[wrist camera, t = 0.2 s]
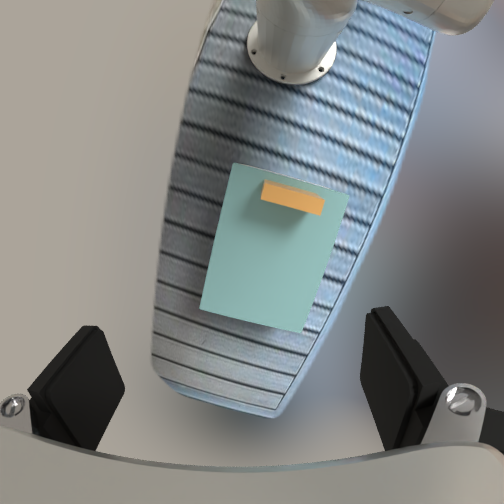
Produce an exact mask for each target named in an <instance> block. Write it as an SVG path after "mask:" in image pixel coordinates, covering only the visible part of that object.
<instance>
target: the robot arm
mask: <svg viewBox="0 0 504 504" xmlns="http://www.w3.org/2000/svg"><path fill="white" fill-rule="evenodd" d="M363 1H366V2H369V3H371V4H374V5H377V6H379V7H382V8H384V9H387V10H389V11H391V12H394V13H396V14H398V15H400V16H403V17H405V18H407V19H409V20H411V21H414V22H416V23H418V24H420V25H422V26H424V27H427V28H429V29H431V30H433V31H436V32H439V33H442V34H446V35H460V34H464V33H466V32H468V31H470V30H472V29H473V28H474V27H475V26H476V25H478V24H479V22H480V21H481V20H482V19H483V17H484V16H485V15H486V14H487V12H488V10H489V9H490V7H491V5H492V3H493V2H494V0H363ZM356 6H357V0H256V8H257V21H256V22H255V23H254V24H253V26H252V27H251V29H250V31H249V34H248V38H247V49H248V54H249V57H250V59H251V61H252V63H253V64H254V66H255V67H256V68H257V69H258V70H259V71H260V72H261V73H262V74H263V75H265V76H266V77H267V78H269V79H272V80H274V81H276V82H279V83H282V84H288V85H302V84H307V83H311V82H313V81H316V80H318V79H319V78H321V77H322V76H324V75H325V74H326V73H327V72H328V71H329V69H330V68H331V67H332V65H333V63H334V61H335V57H336V49H337V46H336V39H337V38H338V36H339V35H340V33H341V32H342V30H343V29H344V28H345V26H346V25H347V23H348V22H349V20H350V19H351V17H352V16H353V14H354V12H355V9H356ZM254 52H255V53H256V54H255V55H253V54H252V53H254ZM319 70H322V72H319ZM281 77H284V78H285V79H281ZM360 381H361V385H362V387H363V390H364V393H365V395H366V398H367V401H368V404H369V406H370V409H371V412H372V415H373V418H374V420H375V423H376V426H377V429H378V432H379V435H380V438H381V440H382V443H383V446H384V449H385V451H383V452H377V453H372V454H368V455H362V456H357V457H350V458H344V459H337V460H330V461H322V462H314V463H304V464H295V465H280V466H260V467H215V466H195V465H194V466H193V465H181V464H171V463H162V462H154V461H146V460H139V459H133V458H127V457H121V456H116V455H110V454H106V453H101V452H97V451H96V449H97V446H98V444H99V442H100V440H101V438H102V436H103V434H104V432H105V430H106V428H107V426H108V424H109V422H110V420H111V418H112V416H113V414H114V412H115V410H116V408H117V406H118V404H119V402H120V400H121V398H122V396H123V395H124V392H125V386H124V383H123V381H122V378H121V376H120V374H119V371H118V369H117V366H116V364H115V361H114V359H113V356H112V354H111V351H110V348H109V346H108V343H107V341H106V338H105V335H104V332H103V331H102V330H100V329H99V327H97V326H83V327H81V329H80V330H79V331H78V332H77V333H76V334H75V335H74V336H73V337H72V338H71V339H70V341H69V342H68V343H67V344H66V345H65V346H64V347H63V348H62V350H61V351H60V352H59V353H58V354H57V355H56V356H55V357H54V359H53V360H52V361H51V362H50V363H49V364H48V366H47V367H46V368H45V369H44V370H43V372H42V373H41V374H40V375H39V376H38V377H37V379H36V380H35V381H34V382H33V383H32V385H31V386H30V387H29V388H28V389H27V390H28V392H29V393H30V395H31V397H32V398H31V399H30V400H29V399H28V397H26V395H23V394H14V395H11V396H8V397H7V398H5V399H4V400H3V401H2V402H1V403H0V504H504V412H502V411H498V410H494V409H490V408H487V407H486V398H485V396H484V394H483V393H482V392H481V391H480V389H478V388H477V387H475V386H473V385H470V384H464V383H459V384H453V385H451V386H448V384H447V383H446V381H445V380H444V378H443V377H442V376H441V374H440V372H439V371H438V370H437V368H436V367H435V365H434V364H433V362H432V361H431V359H430V358H429V357H428V355H427V354H426V352H425V351H424V350H423V348H422V347H421V345H420V344H419V343H418V342H417V341H416V340H414V339H412V337H411V336H410V334H409V333H408V332H407V330H406V329H405V327H404V326H403V325H402V323H401V322H400V321H399V319H398V318H397V316H396V315H395V314H394V313H393V311H392V310H391V309H390V307H389V306H385V307H378V308H373V309H372V310H371V313H367V315H366V322H365V334H364V345H363V354H362V363H361V372H360Z"/></svg>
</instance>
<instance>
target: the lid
mask: <svg viewBox="0 0 504 504" xmlns="http://www.w3.org/2000/svg"><path fill="white" fill-rule="evenodd" d="M348 199H349V195H347V194H344V193H341V192H338V191H335V190H332V189H328V188H325V187H322V186H319V185H315V184H312V183H309V182H305V181H302V180H298V179H295V178H291V177H288V176H284V175H281V174H277V173H273V172H269V171H266V170H262V169H258V168H254V167H250V166H246V165H242V164H238V163H233V165H232V169H231V173H230V177H229V181H228V185H227V189H226V193H225V197H224V201H223V206H222V210H221V214H220V218H219V222H218V227H217V231H216V235H215V240H214V244H213V248H212V253H211V257H210V262H209V266H208V271H207V275H206V280H205V285H204V289H203V294H202V299H201V303H200V308H199V309H201V310H204V311H208V312H212V313H216V314H220V315H224V316H228V317H232V318H236V319H240V320H244V321H248V322H253V323H257V324H261V325H266V326H270V327H274V328H279V329H284V330H288V331H293V332H298V333H301V332H302V330H303V327H304V324H305V322H306V319H307V317H308V314H309V312H310V309H311V306H312V304H313V301H314V299H315V296H316V293H317V290H318V288H319V285H320V282H321V280H322V277H323V274H324V271H325V268H326V266H327V263H328V260H329V257H330V254H331V251H332V248H333V245H334V242H335V239H336V236H337V233H338V230H339V227H340V224H341V221H342V218H343V215H344V212H345V209H346V205H347V202H348Z"/></svg>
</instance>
